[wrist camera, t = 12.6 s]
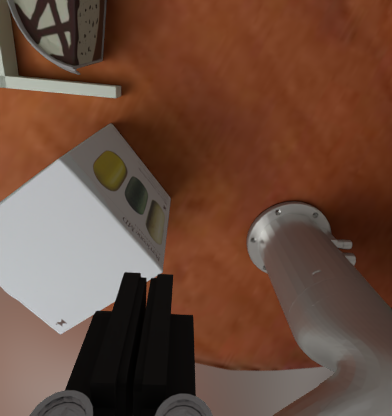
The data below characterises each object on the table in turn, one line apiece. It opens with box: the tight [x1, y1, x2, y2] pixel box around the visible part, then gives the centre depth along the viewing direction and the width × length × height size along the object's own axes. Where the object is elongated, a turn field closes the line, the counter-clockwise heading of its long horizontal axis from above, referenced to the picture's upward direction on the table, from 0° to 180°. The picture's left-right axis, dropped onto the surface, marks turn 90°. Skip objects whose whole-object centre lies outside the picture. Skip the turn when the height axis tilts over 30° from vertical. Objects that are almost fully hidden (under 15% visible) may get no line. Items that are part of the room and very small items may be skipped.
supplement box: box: [0, 123, 171, 334], centre depth 33 cm, size 13×13×18 cm
